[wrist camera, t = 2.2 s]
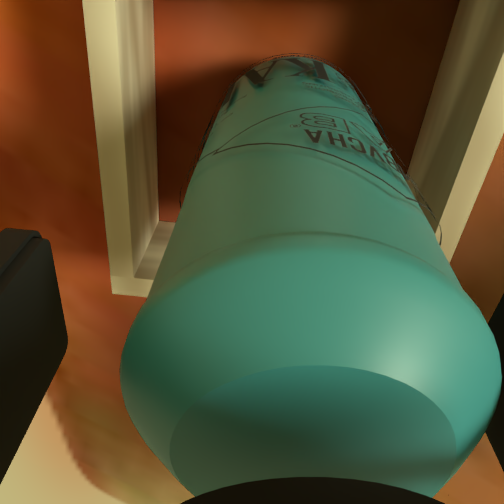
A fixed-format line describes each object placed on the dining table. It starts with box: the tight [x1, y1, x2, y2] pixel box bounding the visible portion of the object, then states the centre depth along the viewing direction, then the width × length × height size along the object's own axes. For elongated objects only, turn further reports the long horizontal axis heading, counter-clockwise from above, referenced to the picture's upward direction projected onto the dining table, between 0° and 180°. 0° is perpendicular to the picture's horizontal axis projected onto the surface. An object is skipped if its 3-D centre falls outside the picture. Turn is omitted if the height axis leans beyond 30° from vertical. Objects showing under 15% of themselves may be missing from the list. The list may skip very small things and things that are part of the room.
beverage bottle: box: [120, 53, 502, 504], centre depth 12 cm, size 6×7×20 cm
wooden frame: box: [82, 0, 504, 297], centre depth 18 cm, size 14×14×5 cm
